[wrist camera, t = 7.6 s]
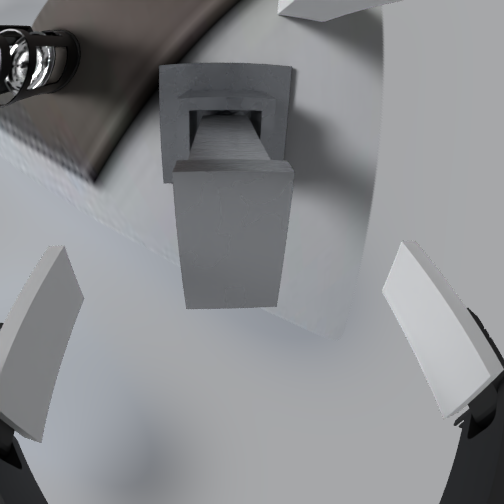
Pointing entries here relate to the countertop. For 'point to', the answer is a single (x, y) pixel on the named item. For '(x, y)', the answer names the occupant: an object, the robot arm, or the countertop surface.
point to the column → (231, 216)
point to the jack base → (221, 104)
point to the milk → (325, 8)
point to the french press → (34, 60)
